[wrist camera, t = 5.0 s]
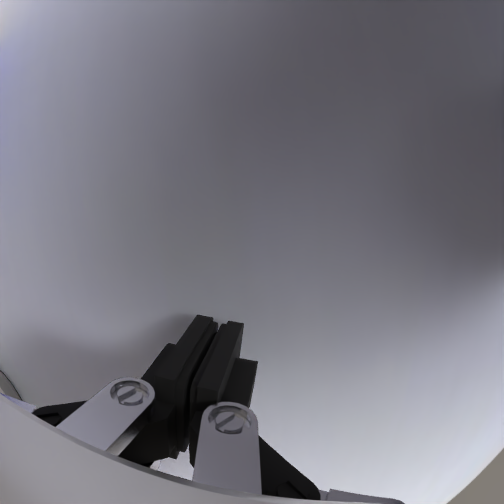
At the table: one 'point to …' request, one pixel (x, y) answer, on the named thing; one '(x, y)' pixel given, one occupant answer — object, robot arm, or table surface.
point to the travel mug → (7, 387)
